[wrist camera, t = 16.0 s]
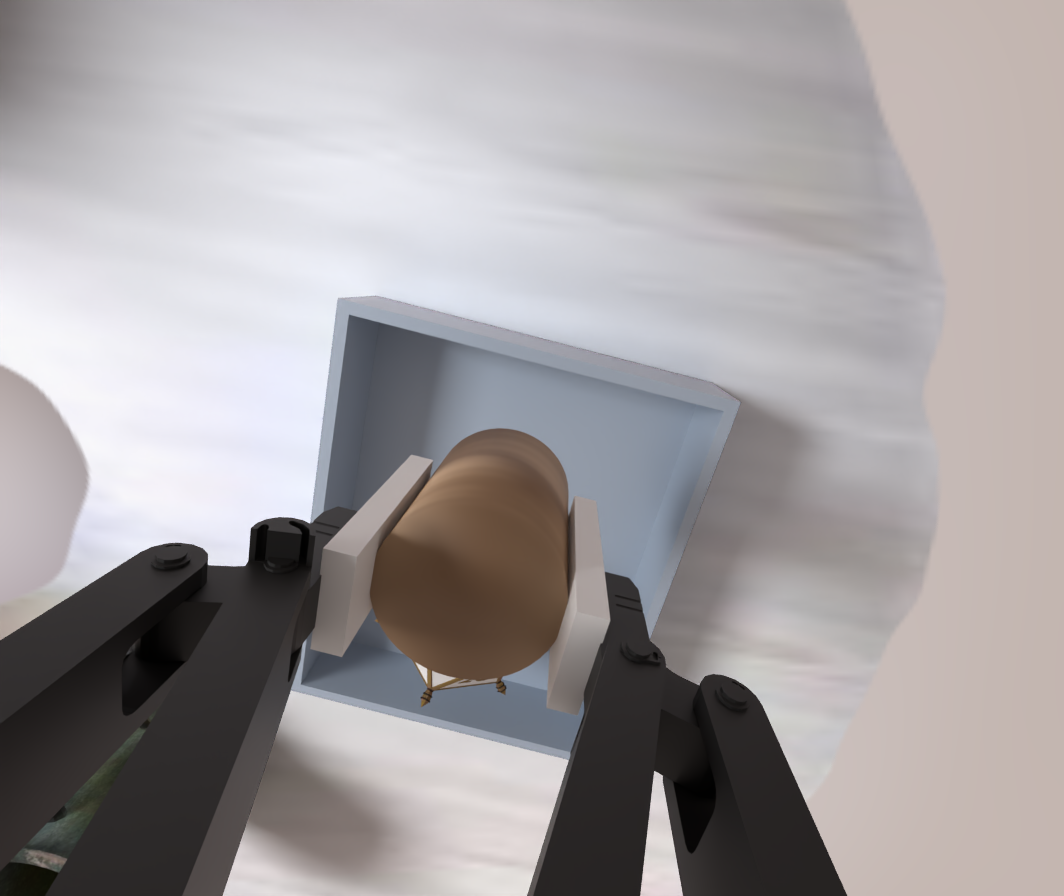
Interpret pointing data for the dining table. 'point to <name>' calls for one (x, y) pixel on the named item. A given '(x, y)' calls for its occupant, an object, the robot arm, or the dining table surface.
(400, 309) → the tote
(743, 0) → the dining table surface
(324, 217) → the dining table surface
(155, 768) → the robot arm
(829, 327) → the dining table surface
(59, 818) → the mug
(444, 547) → the walnut cylinder
